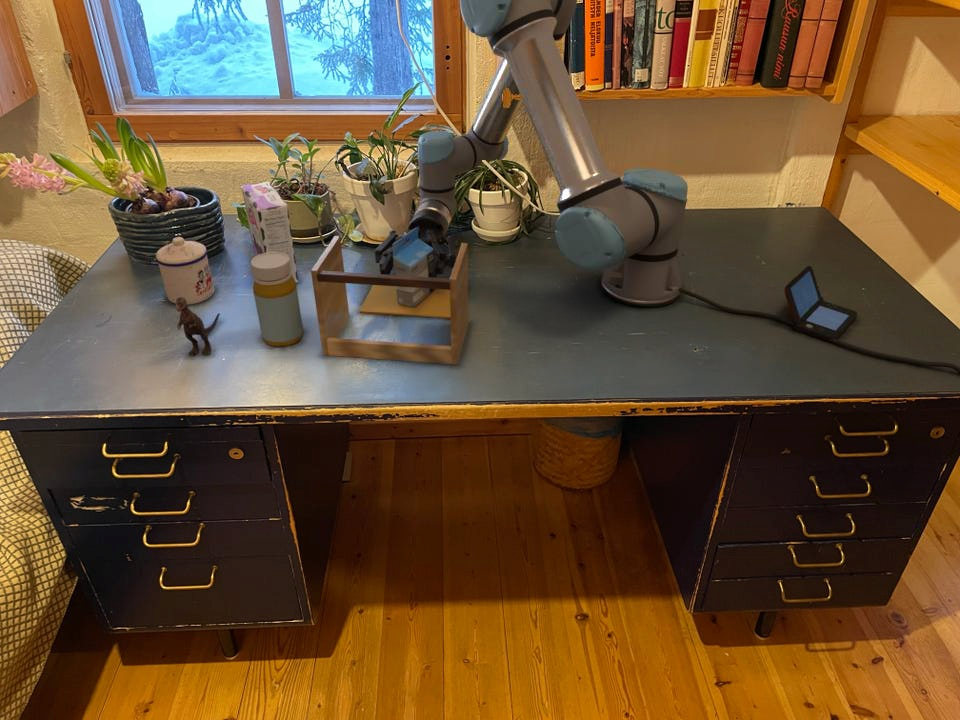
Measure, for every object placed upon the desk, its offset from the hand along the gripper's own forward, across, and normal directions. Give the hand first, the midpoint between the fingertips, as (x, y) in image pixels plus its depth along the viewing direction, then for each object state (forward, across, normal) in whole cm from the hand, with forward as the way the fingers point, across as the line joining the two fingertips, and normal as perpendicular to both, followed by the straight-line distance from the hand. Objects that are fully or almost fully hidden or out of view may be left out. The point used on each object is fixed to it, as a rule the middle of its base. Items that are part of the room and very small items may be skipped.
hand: (406, 277), depth 132 cm
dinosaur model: (+14, +33, -7) cm, 37 cm away
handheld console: (-7, -74, -7) cm, 75 cm away
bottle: (+11, +20, -7) cm, 24 cm away
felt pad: (-5, 0, -7) cm, 9 cm away
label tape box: (-6, 0, -7) cm, 9 cm away
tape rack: (+9, 0, -7) cm, 12 cm away
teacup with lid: (-3, +43, -7) cm, 44 cm away
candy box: (-13, +30, -7) cm, 33 cm away
